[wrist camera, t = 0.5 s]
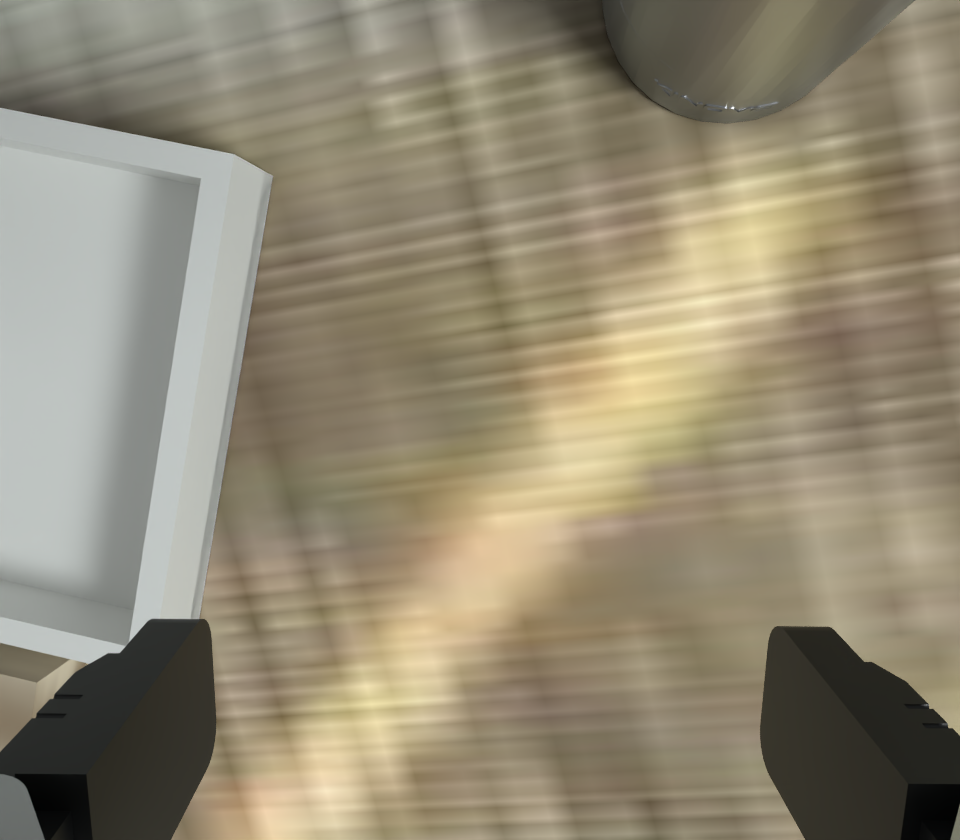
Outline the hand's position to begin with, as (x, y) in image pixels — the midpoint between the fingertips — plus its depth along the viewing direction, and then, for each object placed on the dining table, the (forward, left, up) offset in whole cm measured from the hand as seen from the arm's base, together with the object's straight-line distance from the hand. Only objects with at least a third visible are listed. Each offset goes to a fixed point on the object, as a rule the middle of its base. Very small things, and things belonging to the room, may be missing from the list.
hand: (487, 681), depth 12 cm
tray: (+1, -21, -21) cm, 30 cm away
